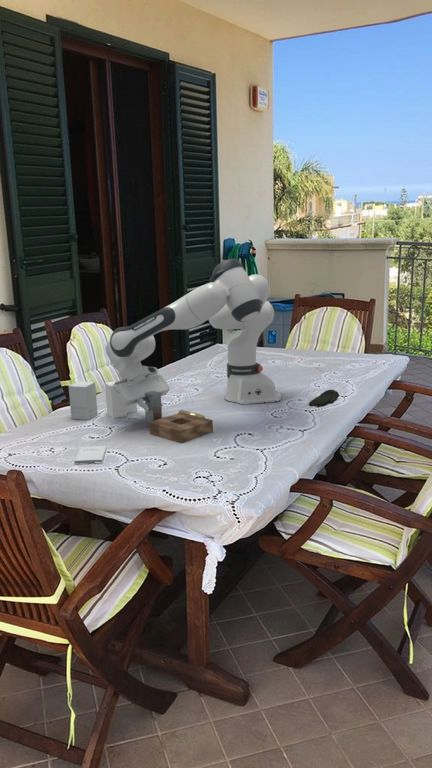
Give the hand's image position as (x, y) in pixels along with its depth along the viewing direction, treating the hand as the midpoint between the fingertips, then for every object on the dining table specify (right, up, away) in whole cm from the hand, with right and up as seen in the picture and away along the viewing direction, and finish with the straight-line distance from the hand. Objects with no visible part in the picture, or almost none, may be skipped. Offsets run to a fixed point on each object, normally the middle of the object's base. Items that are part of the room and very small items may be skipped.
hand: (154, 408), depth 227 cm
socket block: (+10, -8, -6) cm, 14 cm away
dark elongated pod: (+64, +2, +29) cm, 71 cm away
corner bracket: (-14, -2, +20) cm, 24 cm away
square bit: (0, -6, +2) cm, 6 cm away
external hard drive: (-17, -14, -26) cm, 34 cm away
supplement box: (-27, -4, +15) cm, 31 cm away
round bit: (+14, -4, +5) cm, 15 cm away
